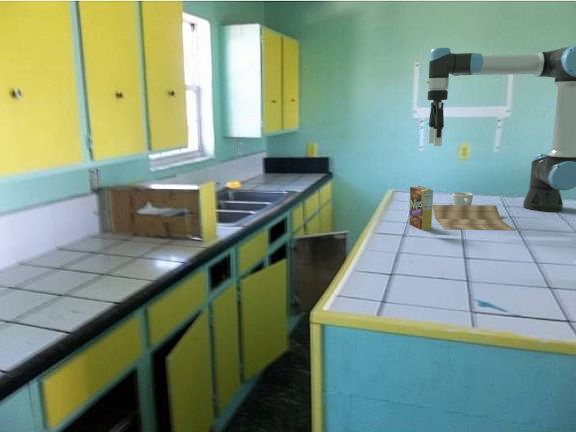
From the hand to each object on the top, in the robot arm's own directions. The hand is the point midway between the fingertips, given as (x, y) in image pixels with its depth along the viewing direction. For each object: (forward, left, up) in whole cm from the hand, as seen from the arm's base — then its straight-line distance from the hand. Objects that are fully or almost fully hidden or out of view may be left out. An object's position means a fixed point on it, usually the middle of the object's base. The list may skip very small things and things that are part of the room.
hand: (434, 144), depth 200 cm
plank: (-11, +11, -26) cm, 30 cm away
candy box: (+9, +28, -28) cm, 41 cm away
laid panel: (-11, +24, -28) cm, 38 cm away
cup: (-13, 0, -28) cm, 31 cm away
